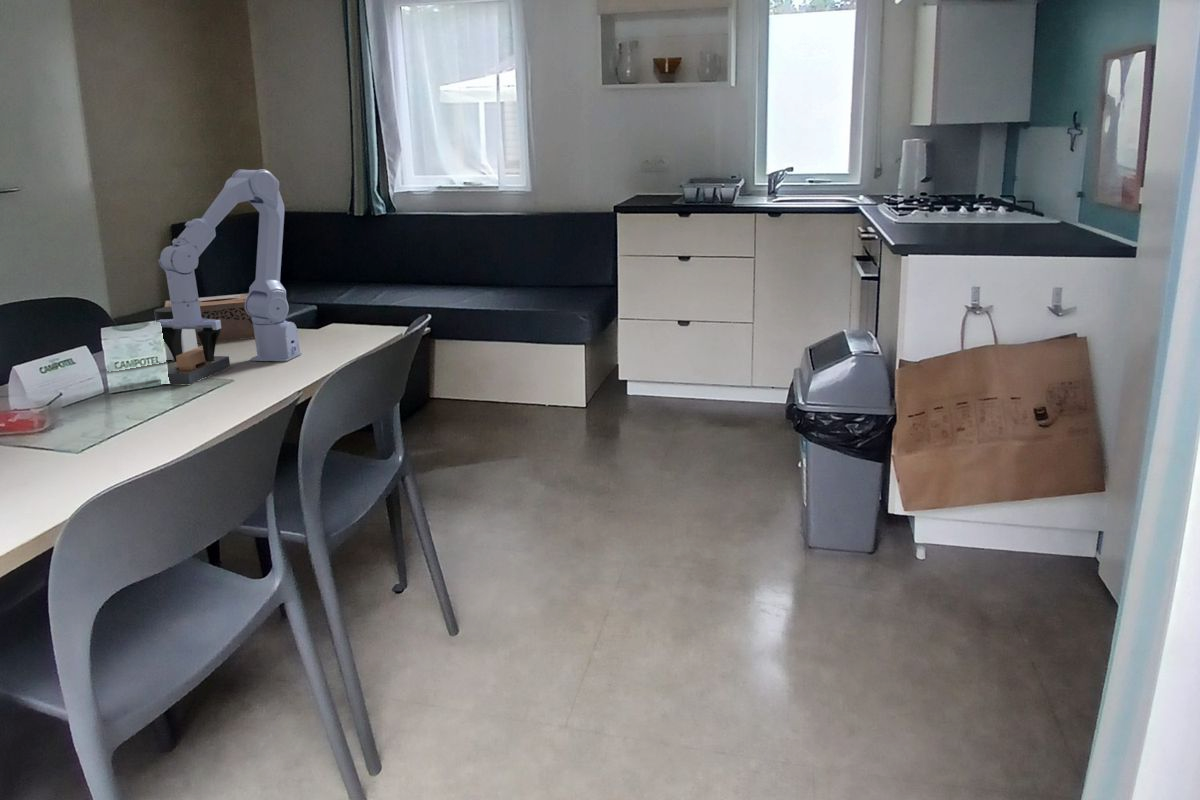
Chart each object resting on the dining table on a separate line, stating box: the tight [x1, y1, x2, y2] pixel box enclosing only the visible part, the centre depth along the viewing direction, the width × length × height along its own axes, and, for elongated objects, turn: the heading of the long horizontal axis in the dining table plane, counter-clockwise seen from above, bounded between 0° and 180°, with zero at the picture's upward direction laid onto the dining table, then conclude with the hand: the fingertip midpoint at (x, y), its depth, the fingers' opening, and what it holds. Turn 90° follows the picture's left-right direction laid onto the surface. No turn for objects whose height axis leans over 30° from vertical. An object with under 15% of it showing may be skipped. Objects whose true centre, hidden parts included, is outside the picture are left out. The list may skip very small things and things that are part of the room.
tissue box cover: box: [164, 292, 255, 344], centre depth 247 cm, size 26×14×10 cm, turn 113°
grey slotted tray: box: [167, 355, 231, 385], centre depth 206 cm, size 16×7×2 cm, turn 170°
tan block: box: [176, 347, 210, 370], centre depth 205 cm, size 8×3×6 cm, turn 171°
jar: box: [153, 306, 199, 361], centre depth 223 cm, size 9×8×12 cm
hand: (194, 360), depth 205 cm, fingers open, 7 cm apart
